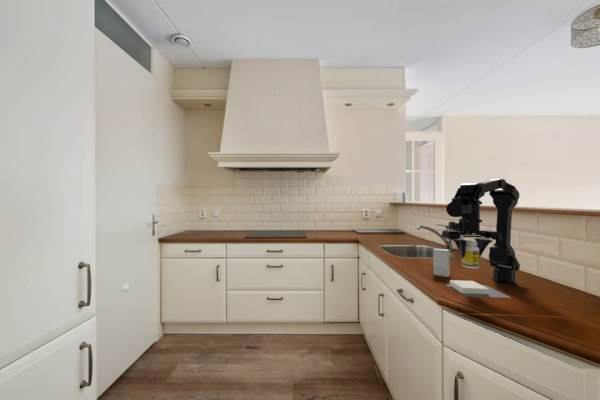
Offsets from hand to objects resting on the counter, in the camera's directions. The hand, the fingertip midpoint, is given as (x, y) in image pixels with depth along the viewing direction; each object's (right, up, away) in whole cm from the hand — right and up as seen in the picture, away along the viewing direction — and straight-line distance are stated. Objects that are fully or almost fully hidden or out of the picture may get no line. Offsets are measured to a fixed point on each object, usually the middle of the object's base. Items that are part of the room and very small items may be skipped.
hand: (470, 257), depth 95 cm
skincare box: (0, -13, +20) cm, 24 cm away
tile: (+4, -11, 0) cm, 12 cm away
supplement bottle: (0, -4, 0) cm, 4 cm away
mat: (+2, -13, 0) cm, 13 cm away
